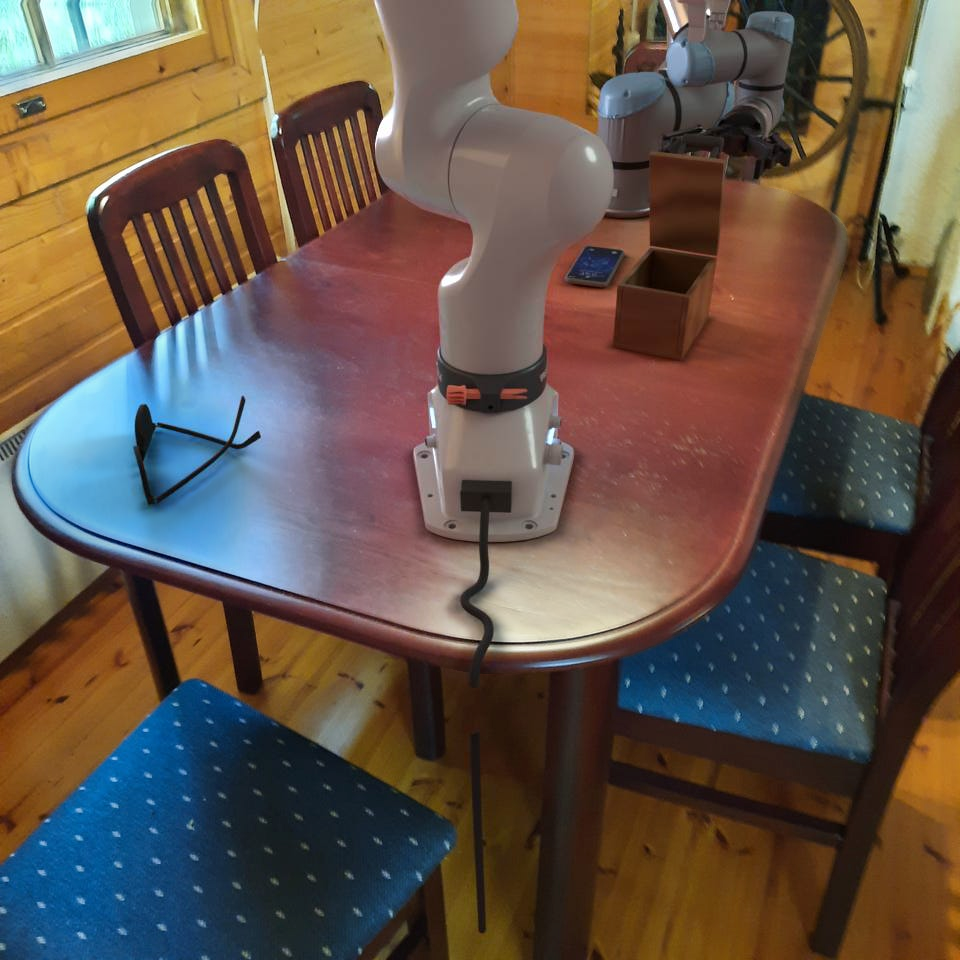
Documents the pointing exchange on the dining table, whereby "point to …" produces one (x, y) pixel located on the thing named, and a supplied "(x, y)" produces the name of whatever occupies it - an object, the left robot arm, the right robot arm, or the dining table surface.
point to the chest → (663, 303)
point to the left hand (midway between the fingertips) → (706, 35)
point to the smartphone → (595, 266)
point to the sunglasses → (147, 427)
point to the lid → (687, 196)
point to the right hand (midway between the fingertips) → (710, 164)
